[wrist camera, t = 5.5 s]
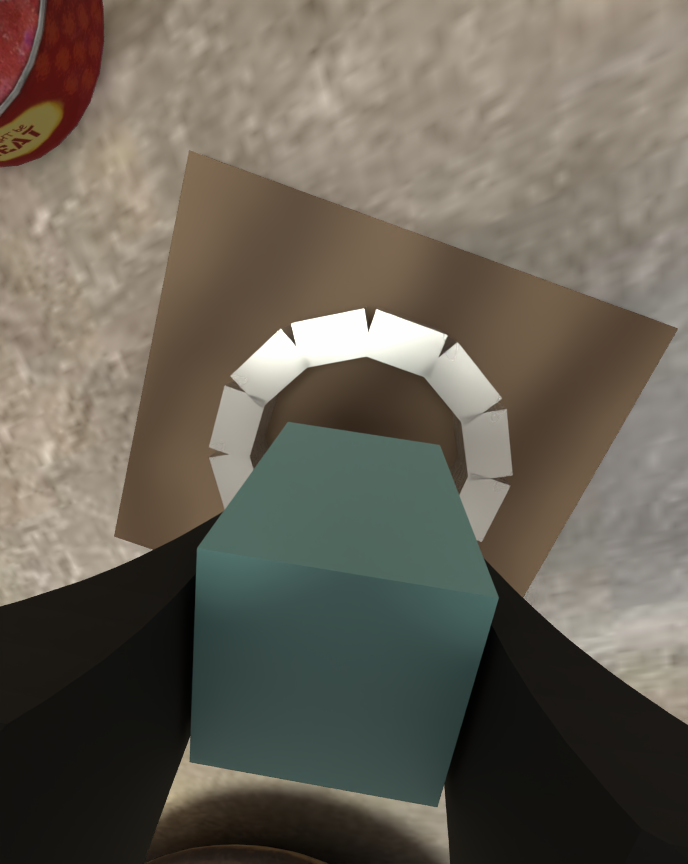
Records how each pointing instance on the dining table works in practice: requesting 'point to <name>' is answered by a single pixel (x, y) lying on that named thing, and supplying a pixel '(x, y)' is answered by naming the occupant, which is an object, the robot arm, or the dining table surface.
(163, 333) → the walnut board
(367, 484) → the teal peg
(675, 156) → the dining table surface
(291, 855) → the broken plate
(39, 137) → the canned food
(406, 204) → the dining table surface
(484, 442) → the steel collar
